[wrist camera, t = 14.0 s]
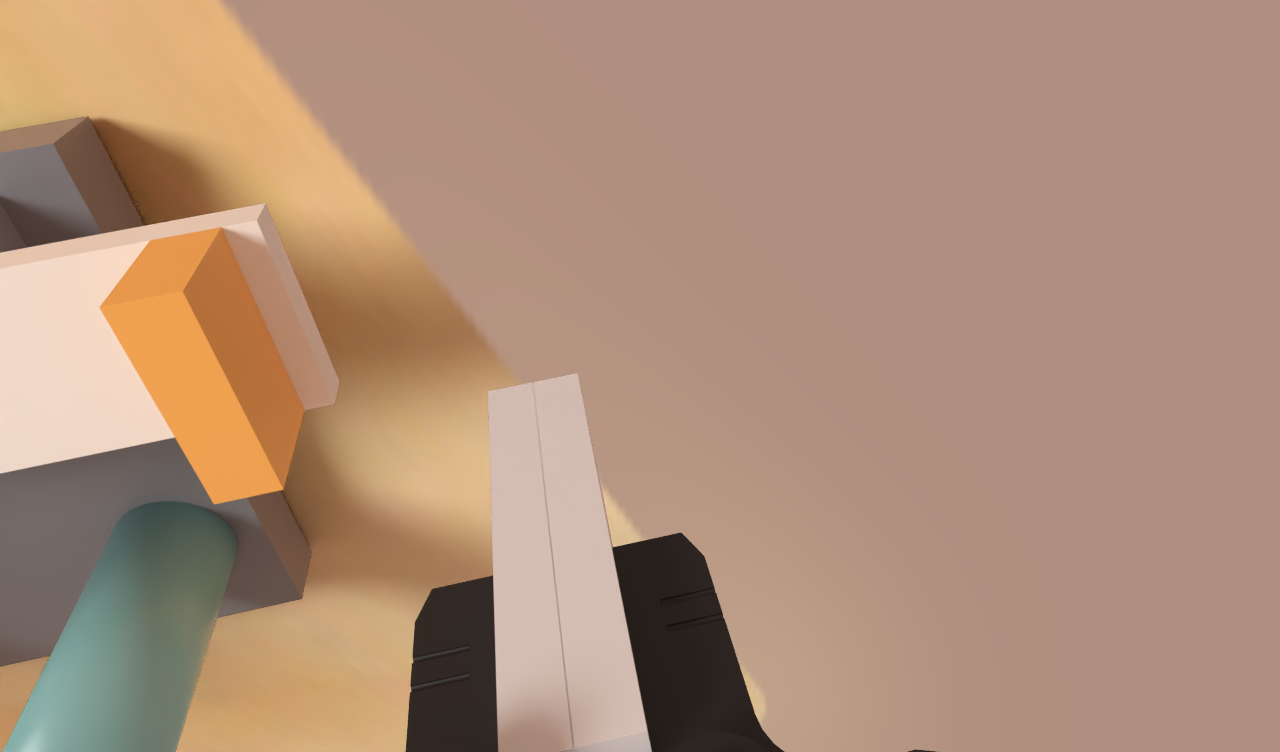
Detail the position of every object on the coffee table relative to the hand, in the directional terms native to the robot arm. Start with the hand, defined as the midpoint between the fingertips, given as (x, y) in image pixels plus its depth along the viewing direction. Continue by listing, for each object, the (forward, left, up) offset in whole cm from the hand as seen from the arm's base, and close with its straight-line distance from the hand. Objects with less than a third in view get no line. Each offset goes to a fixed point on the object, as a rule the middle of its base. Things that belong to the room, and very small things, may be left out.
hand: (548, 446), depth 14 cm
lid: (-13, 0, -8) cm, 15 cm away
